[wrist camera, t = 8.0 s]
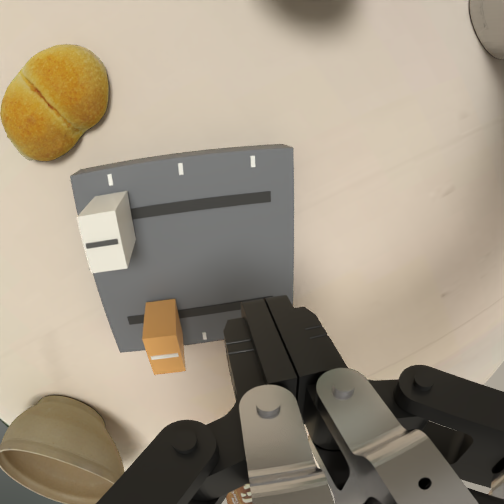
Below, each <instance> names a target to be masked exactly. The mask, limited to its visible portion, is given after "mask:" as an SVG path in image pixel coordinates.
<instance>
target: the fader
mask: <svg viewBox="0 0 504 504" xmlns="http://www.w3.org/2000/svg"><path fill="white" fill-rule="evenodd" d="M76 218H77V222H78V226H79V230H80V235H81V239H82V242H83V246H84V250H85V254H86V257H87V261H88V265H89V268H90V271H91V273H98V272H105V271H112V270H120V269H127V268H128V265H129V262H130V258H131V255H132V251H133V248H134V244H135V241H136V237H135V232H134V226H133V221H132V216H131V210H130V204H129V198H128V192H127V191H123V192H117V193H111V194H106V195H100V196H95V197H94V198H93V199H92V200H91V201H90V202H89V204H88V205H87V206H86V207H85V208H84V209H83V210H82V211H81V213H80V214H79V215H78V216H77V217H76Z"/></svg>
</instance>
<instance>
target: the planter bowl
mask: <svg viewBox="0 0 504 504" xmlns="http://www.w3.org/2000/svg"><path fill="white" fill-rule="evenodd" d="M0 467H1V469H2V470H3V471H4V472H5V473H6V474H7V475H9V476H10V477H11V478H13V479H14V480H15V481H17V482H18V483H20V484H21V485H23V486H24V487H26V488H28V489H30V490H32V491H33V492H35V493H38V494H40V495H42V496H44V497H47V498H49V499H52V500H55V501H58V502H61V503H64V504H96V503H97V502H98V501H99V500H100V498H101V497H102V496H103V495H104V494H105V493H106V492H107V491H108V490H109V489H110V488H111V487H112V486H113V484H114V483H115V482H116V481H117V480H118V479H119V478H120V477H121V476H122V475H123V474H124V467H123V464H122V460H121V457H120V455H119V452H118V450H117V448H116V446H115V444H114V442H113V440H112V438H111V437H110V435H109V434H108V432H107V431H106V429H105V423H104V421H103V419H102V417H101V416H100V415H99V414H98V413H97V412H96V411H95V410H93V409H92V408H91V407H89V406H88V405H86V404H84V403H82V402H80V401H77V400H75V399H72V398H68V397H64V396H46V397H44V398H42V399H41V400H40V401H39V402H38V404H37V405H35V406H33V407H31V408H29V409H27V410H26V411H24V412H23V413H22V414H20V415H19V416H18V417H17V418H16V419H15V420H14V421H13V422H12V423H11V425H10V426H9V428H8V429H7V431H6V433H5V435H4V437H3V439H2V442H1V445H0Z"/></svg>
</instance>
